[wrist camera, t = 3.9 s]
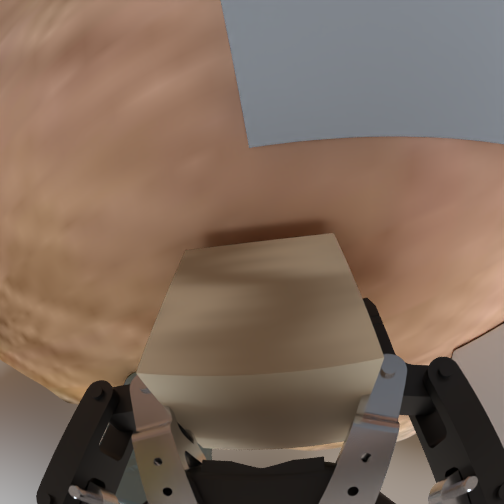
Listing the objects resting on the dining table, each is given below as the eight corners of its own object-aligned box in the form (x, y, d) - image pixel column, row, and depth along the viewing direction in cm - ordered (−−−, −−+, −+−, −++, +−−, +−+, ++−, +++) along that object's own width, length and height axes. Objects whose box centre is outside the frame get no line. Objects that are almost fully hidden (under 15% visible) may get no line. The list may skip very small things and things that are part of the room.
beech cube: (218, 345, 14) (203, 447, 9) (185, 250, 11) (135, 373, 6) (330, 335, 14) (350, 439, 8) (333, 233, 10) (384, 357, 5)
